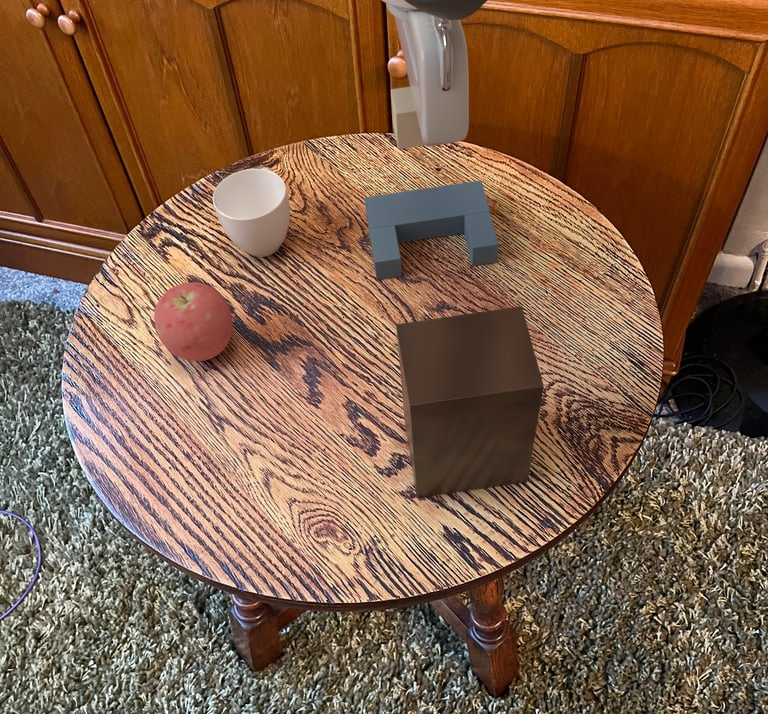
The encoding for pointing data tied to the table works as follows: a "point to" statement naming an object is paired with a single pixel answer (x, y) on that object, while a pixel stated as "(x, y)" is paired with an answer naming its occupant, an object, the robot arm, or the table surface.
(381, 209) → the u-shaped bracket
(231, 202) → the cup
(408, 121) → the beige block
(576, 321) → the table surface
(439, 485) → the block
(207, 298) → the apple
